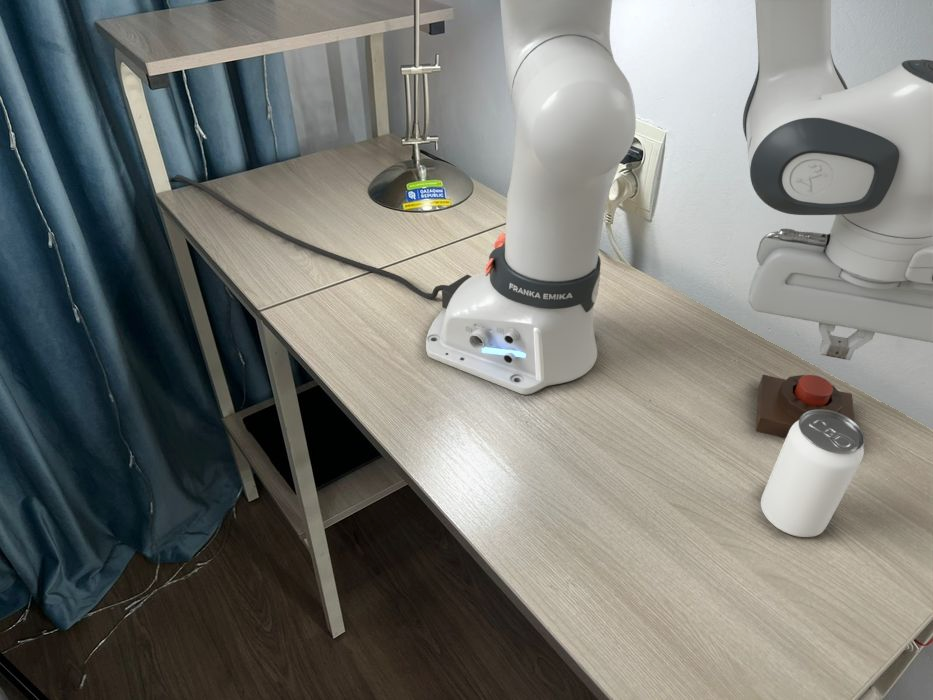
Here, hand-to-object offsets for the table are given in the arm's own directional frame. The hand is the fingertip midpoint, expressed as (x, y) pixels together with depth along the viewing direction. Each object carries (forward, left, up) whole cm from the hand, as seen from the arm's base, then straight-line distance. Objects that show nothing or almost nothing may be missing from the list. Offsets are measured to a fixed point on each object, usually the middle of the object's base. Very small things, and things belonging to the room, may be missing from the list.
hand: (834, 354), depth 75 cm
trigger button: (-1, 0, -6) cm, 6 cm away
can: (-2, -15, -10) cm, 18 cm away
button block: (-1, 0, -10) cm, 10 cm away
